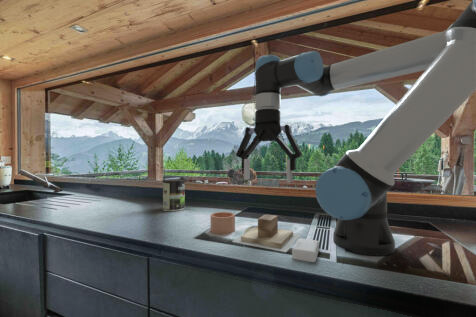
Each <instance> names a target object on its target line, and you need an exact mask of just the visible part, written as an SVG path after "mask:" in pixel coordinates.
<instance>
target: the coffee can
mask: <svg viewBox="0 0 476 317" xmlns="http://www.w3.org/2000/svg"><path fill="white" fill-rule="evenodd" d="M185 185H186V180H185V179H184V178H173V179H171V178H170V179H169V178H168V179H163V180H162V207H163V208H162V210H163V211H164V212H180V211H184V210H185V208H186V202H185V201H186V200H185V197H186V194H185V192H186V186H185Z"/></svg>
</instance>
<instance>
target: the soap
mask: <svg viewBox="0 0 476 317" xmlns="http://www.w3.org/2000/svg"><path fill="white" fill-rule="evenodd" d="M319 252H320V242H319V241H318V240H316V239H307V238H306V239H305V238H300V237H299V238H298V239H297V240H296V241H295V243H294V246H293V247H292V250H291V258H292V259H294V260H298V261H299V260H300V261H304V262H310V263H315V262H316V261H317V258H318V254H319Z"/></svg>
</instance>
